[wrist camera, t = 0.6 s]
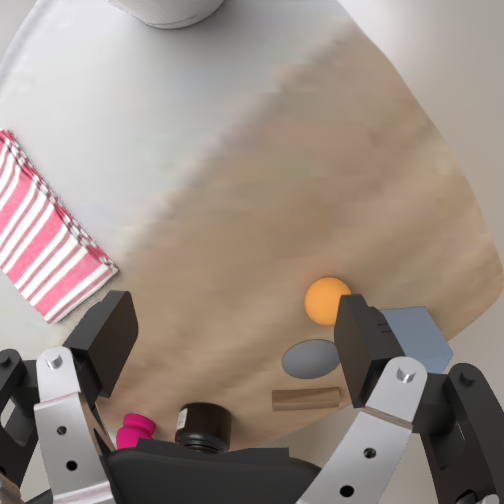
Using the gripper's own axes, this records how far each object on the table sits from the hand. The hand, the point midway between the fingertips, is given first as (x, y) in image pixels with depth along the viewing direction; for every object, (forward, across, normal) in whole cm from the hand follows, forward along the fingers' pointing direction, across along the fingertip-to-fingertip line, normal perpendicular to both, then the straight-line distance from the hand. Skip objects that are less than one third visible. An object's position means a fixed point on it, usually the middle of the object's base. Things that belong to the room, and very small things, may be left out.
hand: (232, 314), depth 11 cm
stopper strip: (+20, -8, +30) cm, 37 cm away
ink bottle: (+21, +8, +37) cm, 43 cm away
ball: (+16, -8, +10) cm, 21 cm away
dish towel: (+19, +28, +3) cm, 34 cm away
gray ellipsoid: (+20, -8, +22) cm, 31 cm away
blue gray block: (+19, -19, +17) cm, 32 cm away
